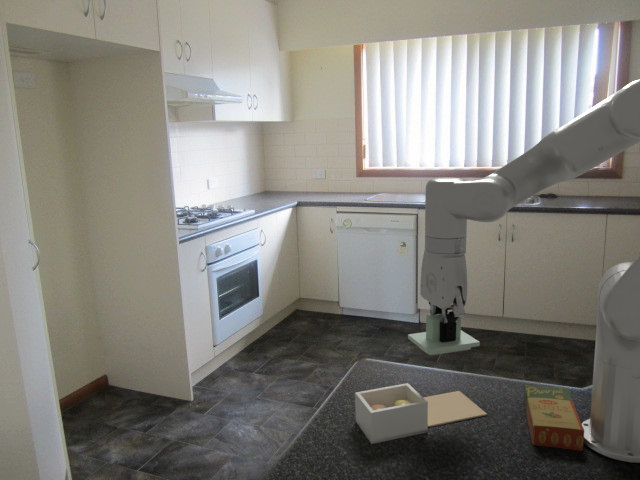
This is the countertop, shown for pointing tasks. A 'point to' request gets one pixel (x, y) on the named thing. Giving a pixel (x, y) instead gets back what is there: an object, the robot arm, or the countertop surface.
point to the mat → (451, 408)
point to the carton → (553, 418)
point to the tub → (391, 413)
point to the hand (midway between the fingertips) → (443, 337)
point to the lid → (431, 338)
